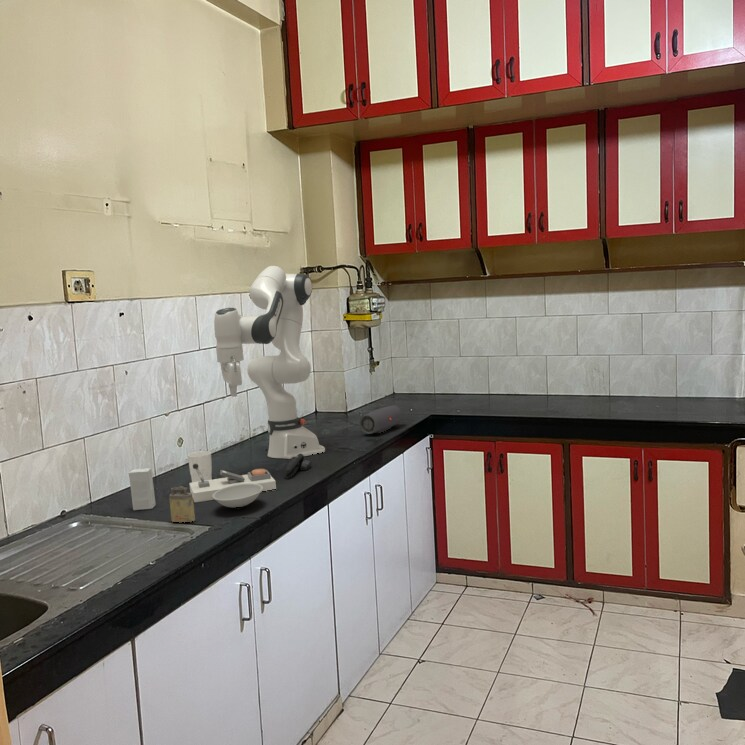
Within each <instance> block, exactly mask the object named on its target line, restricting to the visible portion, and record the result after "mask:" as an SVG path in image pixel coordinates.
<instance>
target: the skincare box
mask: <svg viewBox="0 0 745 745" xmlns="http://www.w3.org/2000/svg"><path fill="white" fill-rule="evenodd" d="M128 477H129V484H130V494H131V501H132V503H131V504H132V510H133V511H139V510H140V511H141V510H151V509H153V508H154V507H155V506H156V498H155V490H154V481H153V480H154V479H153V472H152V468H151V467H150V468H138V469H137V468H135V469H132V470H130V471H129V472H128Z"/></svg>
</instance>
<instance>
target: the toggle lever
mask: <svg viewBox="0 0 745 745" xmlns="http://www.w3.org/2000/svg"><path fill="white" fill-rule="evenodd" d="M193 468H194V469H195V470H196V472H197V474H198V476H199V478H200V480H201V481H202V482H204V478H203V476H202V474H201V472H200V470H199V468H198V464H193Z"/></svg>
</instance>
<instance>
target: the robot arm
mask: <svg viewBox="0 0 745 745" xmlns="http://www.w3.org/2000/svg"><path fill="white" fill-rule="evenodd" d="M312 293H313V283H312V280H311V277H310V276H309V275H308V274H304V273H286V272H285V271H284V269H282V267H280V266H277V265H269V266H267V267H265V268H264V269H262V270H261V272H260V273H259V274H258V275H257V276H256V278H255V279H254V281H253V282H252V284H251V285H250V288H249V297H250V299H251V302H252V303H253V304H254V305H255V306H256V307H258V308H259V309H261V310H265V313H263V314H259V315H247V316H245V315H244V316H243V315H240V314H239V312H238V309H237V308H236V307H225V308H220V309H218V310H217V311H216V312H215V313H214V320H213V321H214V322H213V324H214V325H213V327H214V336H215V340H216V347H215V349H216V360H217V361H216V362H217V363H220V364H219V365H220V369H221V374H222V378H223V381H224V382H226V383H227V384H228V389H229V393H230V396H231V397H232V398H234V397H237V396H238V394H237V392H238V386H242V384H243V380H242V379H243V378H242V369H241V362H242V361H244V348H243V344H244V345H249V344H255V345H256V344H259V345H260V344H261V345H269V344H271V343H272V345H273V346H274V347H275V348H276V349H278V350H280V352H279V355H262V356H261V355H260V356H258V357H255V358H252V359H251V360H250V361H249V362H248V366H247V374H248V375H247V376H248V378H249V379H250V381H251V382H253V383H254V384H256V386H257V387H258V388H259V389H260V391H261V392H262V394H263V396H264V398H265V401H266V406H267V407H266V408H267V416H268V420H267V431H268V435H269V443H268V444H269V445H268V451H267V457H268V458H272V459H285V460H286V459H288V460H291V457H295V456H297V455H298V454H303V456H304V457H307V456H313V455H318V454H317V453H319V454H323V453H325V452H326V447H325V446H323V445H321V444H320V443H319V442H320V441H319V438H318V437H317V435H316V434H315V433H314V432H312V431H311V430H309V429H308V428H306V427H305V426H303V425H305V424H306V422H307V421H306V420H305V419H304V418H300V417H298V413H297V401H296V398H295V396H294V395H293V394H292V393H290V392H288V391H286V389H285V388H284V386H283V384H284V385H286V384H299V383H301V382H306V381H307V380H308V379H309V377H310V375H311V370H312V368H311V363H310V361H309V360H308V358H307V357H305V356H304V355H303V353H302V352H301V348H300V340H301V339H300V338H301V332H302V328H303V327H302V326H303V320H304V309H303V306H304V305H305V304H306V303H307V301H308V300H309V298H311V295H312ZM322 452H323V453H322ZM312 454H313V455H312Z"/></svg>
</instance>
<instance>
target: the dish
mask: <svg viewBox="0 0 745 745" xmlns="http://www.w3.org/2000/svg"><path fill="white" fill-rule="evenodd" d="M262 490H263V486H262V485H259V484H252V483H248V484H238V485H233V486H229V487H225V488H222V489H220V490H218V491H216V492H215V493H214V494H213V495H212V498H213V499H214V500H215V502H218V504H220V505H222V506H224V507H226V508H232V509H234V508H236V507H242V508H243V507H246V506H248V505H250V504H251V503H253V502H254V501H255V500H256V499H257V498H258V497H259V495H260V493H263V492H262Z"/></svg>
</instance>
